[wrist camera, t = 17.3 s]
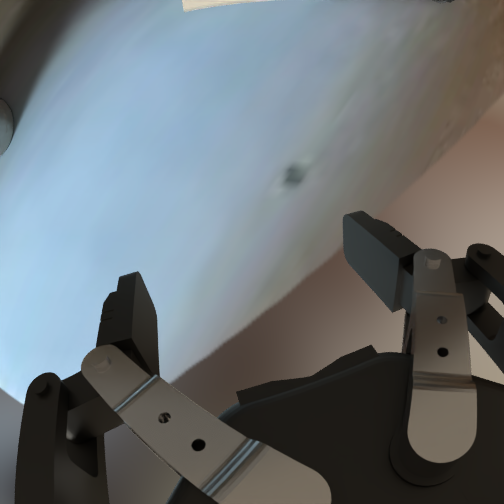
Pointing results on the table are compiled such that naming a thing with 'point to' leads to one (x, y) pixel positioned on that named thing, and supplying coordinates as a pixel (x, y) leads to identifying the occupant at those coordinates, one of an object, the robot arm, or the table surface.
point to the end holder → (211, 3)
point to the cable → (443, 1)
